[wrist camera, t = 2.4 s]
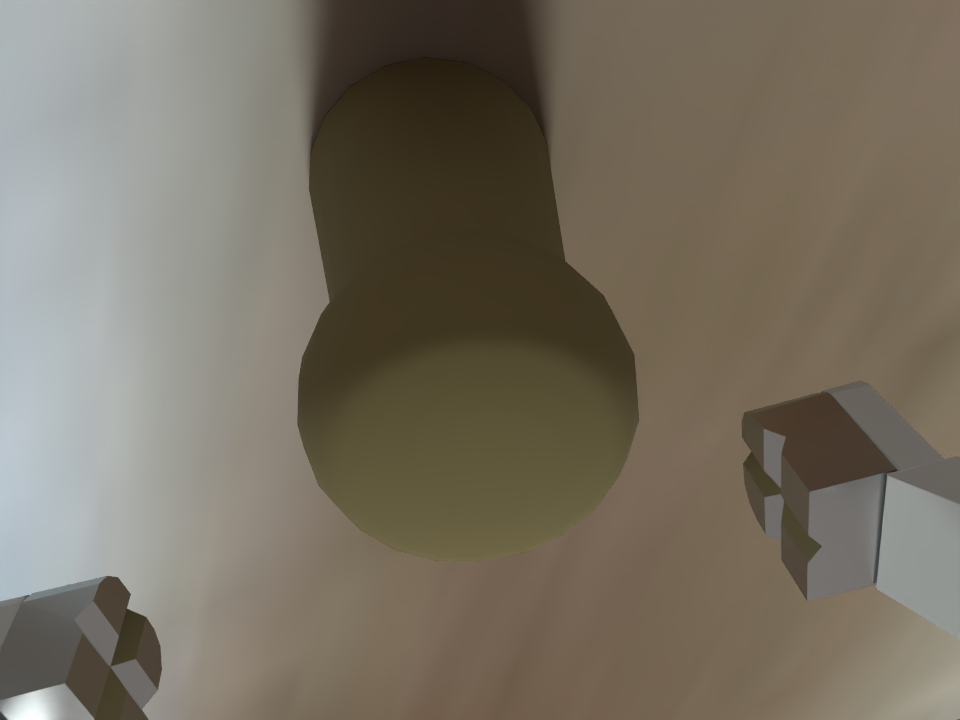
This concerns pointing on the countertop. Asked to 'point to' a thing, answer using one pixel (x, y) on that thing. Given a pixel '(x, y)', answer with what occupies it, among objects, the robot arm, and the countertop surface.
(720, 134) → the countertop surface
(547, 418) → the cork
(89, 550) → the countertop surface
